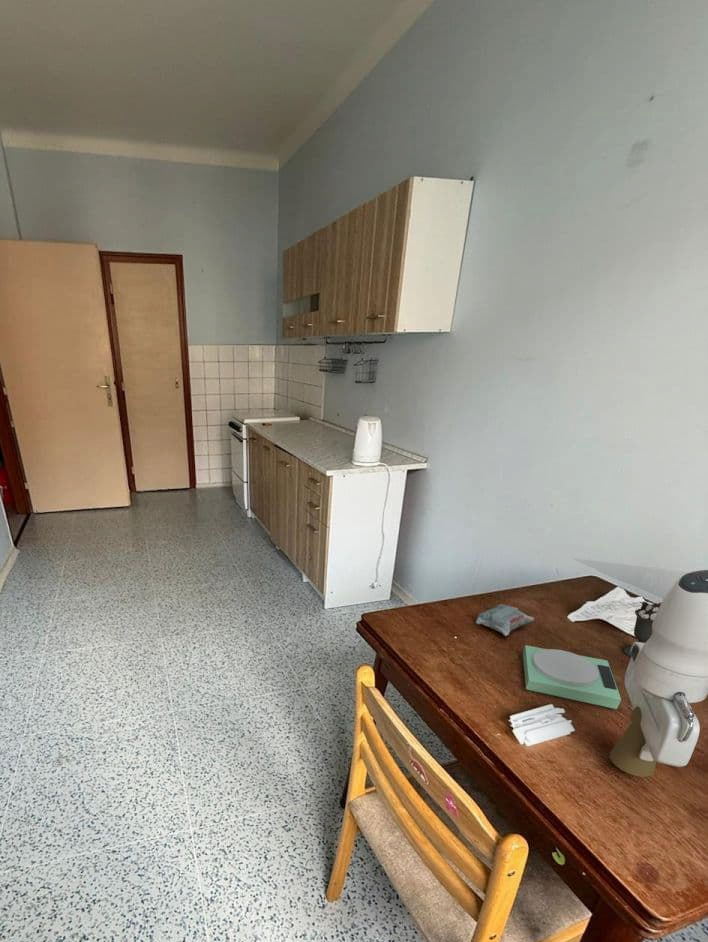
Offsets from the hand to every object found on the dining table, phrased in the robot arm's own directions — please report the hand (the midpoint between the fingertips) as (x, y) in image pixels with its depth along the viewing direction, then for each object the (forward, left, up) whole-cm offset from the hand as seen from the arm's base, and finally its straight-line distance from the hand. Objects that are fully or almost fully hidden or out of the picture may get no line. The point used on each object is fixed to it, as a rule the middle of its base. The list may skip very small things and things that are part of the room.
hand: (639, 743), depth 76 cm
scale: (+7, -24, -6) cm, 26 cm away
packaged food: (+19, -42, -6) cm, 46 cm away
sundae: (-9, -41, -6) cm, 42 cm away
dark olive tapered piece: (0, 0, -4) cm, 4 cm away
